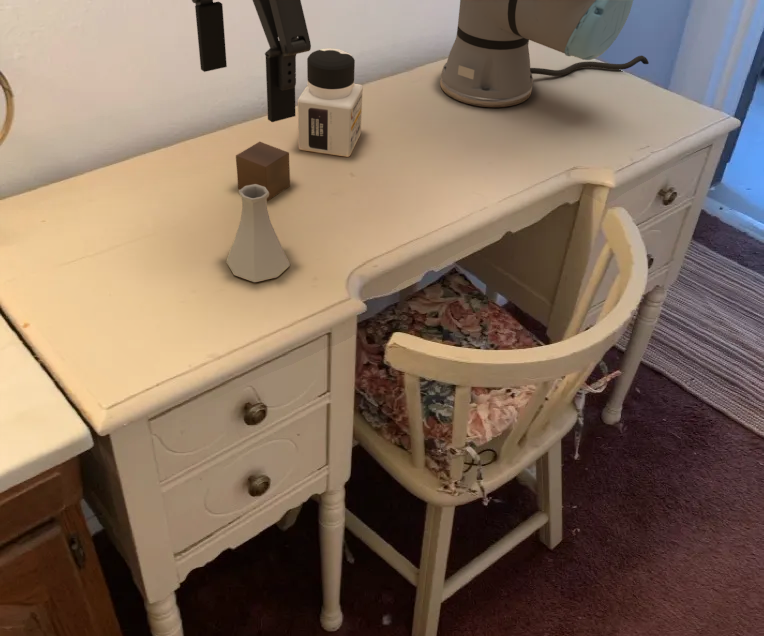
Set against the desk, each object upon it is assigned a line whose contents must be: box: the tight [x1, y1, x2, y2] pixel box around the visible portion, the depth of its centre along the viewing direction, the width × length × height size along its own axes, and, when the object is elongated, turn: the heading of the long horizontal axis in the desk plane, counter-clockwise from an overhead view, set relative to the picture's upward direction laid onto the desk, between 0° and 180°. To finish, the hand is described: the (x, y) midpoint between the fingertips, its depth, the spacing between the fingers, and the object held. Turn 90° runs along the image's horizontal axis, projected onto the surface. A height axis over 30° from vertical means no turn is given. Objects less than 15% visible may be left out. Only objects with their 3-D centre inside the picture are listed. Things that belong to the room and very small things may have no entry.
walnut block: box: [235, 141, 291, 202], centre depth 111 cm, size 5×5×5 cm
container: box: [297, 47, 364, 158], centre depth 119 cm, size 8×8×13 cm
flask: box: [225, 184, 291, 283], centre depth 97 cm, size 7×7×10 cm
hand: (246, 92), depth 86 cm, fingers open, 13 cm apart
